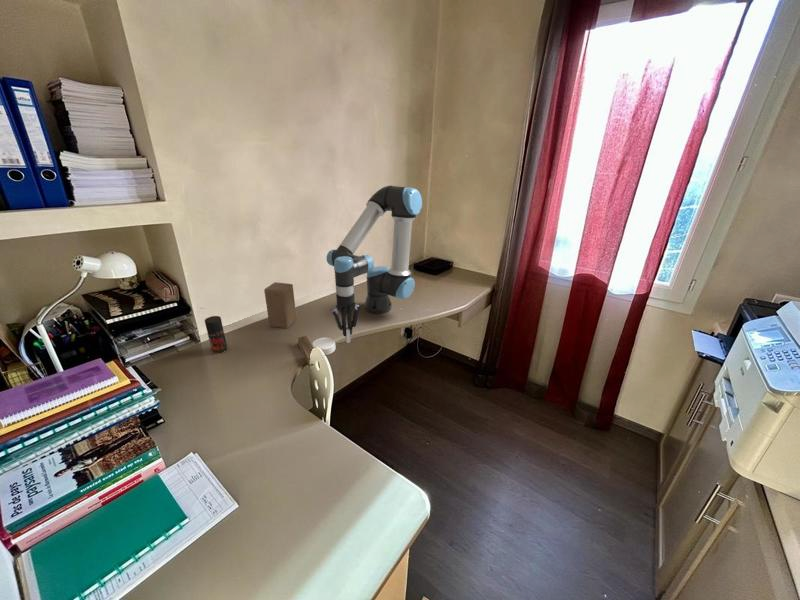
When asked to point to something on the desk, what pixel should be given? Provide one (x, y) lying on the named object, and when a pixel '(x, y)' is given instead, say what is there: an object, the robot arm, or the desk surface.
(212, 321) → the deodorant
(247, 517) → the desk surface
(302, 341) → the brown wooden bar
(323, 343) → the coaster
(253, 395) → the desk surface
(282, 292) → the wooden block
